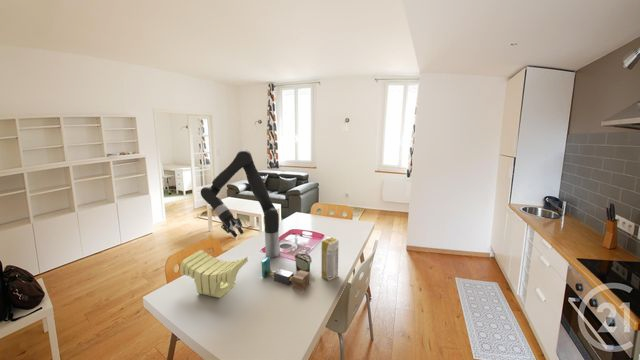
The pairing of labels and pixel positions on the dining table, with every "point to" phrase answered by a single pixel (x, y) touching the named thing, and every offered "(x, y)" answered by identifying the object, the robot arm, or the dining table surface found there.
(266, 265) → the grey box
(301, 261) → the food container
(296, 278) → the brown block
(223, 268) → the slatted curved stool
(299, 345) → the dining table surface
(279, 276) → the sleeve
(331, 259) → the juice carton
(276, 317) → the dining table surface
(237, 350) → the dining table surface
